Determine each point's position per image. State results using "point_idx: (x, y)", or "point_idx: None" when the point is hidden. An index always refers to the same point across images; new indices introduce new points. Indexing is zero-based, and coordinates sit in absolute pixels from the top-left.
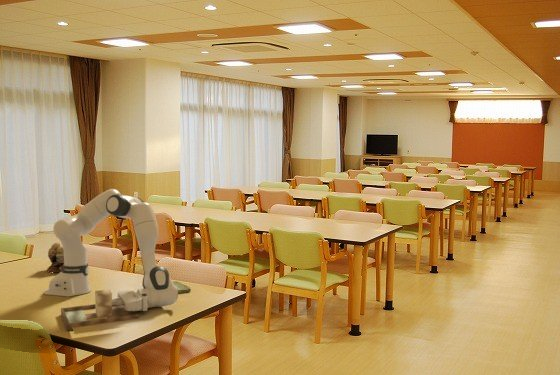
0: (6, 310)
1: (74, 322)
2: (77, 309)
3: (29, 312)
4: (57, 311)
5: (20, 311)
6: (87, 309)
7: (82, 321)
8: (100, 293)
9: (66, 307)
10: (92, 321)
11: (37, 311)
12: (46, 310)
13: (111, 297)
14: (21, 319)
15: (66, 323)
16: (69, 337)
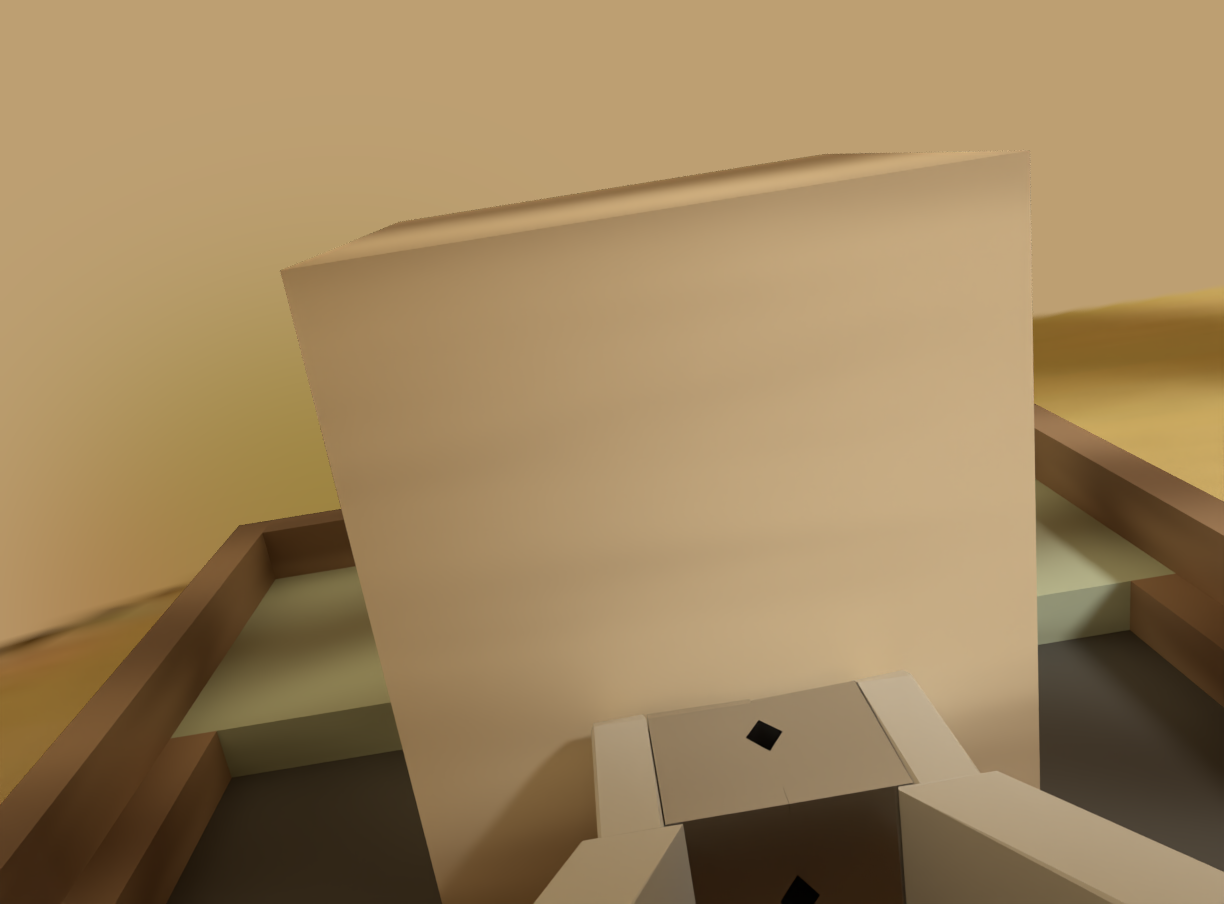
0: (1144, 302)
1: (240, 561)
2: (1117, 523)
3: (1102, 361)
4: (1187, 452)
5: (1128, 334)
6: (1195, 622)
7: (195, 615)
8: (454, 216)
9: (1062, 418)
10: (85, 721)
11: (1149, 377)
12: (1209, 400)
13: (343, 505)
14: None
15: (289, 522)
16: (19, 657)
